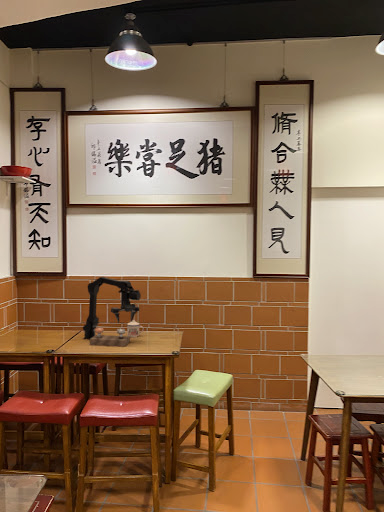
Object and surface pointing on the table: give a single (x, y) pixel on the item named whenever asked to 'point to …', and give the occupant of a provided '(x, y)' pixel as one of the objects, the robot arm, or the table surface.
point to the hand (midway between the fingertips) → (125, 322)
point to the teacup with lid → (133, 329)
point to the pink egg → (99, 331)
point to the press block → (109, 340)
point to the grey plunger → (120, 333)
